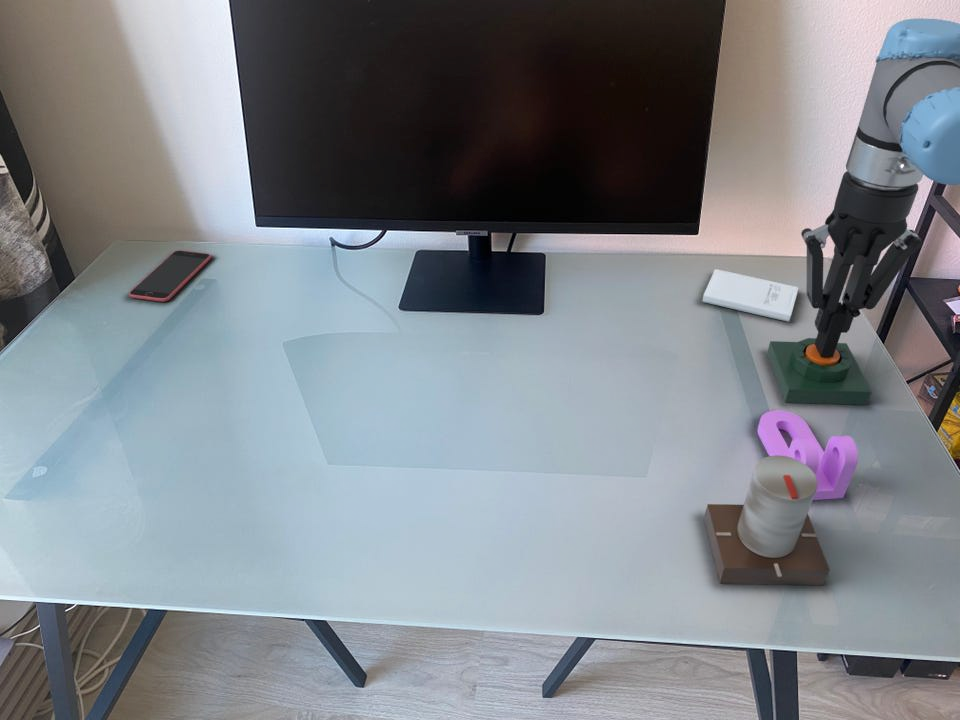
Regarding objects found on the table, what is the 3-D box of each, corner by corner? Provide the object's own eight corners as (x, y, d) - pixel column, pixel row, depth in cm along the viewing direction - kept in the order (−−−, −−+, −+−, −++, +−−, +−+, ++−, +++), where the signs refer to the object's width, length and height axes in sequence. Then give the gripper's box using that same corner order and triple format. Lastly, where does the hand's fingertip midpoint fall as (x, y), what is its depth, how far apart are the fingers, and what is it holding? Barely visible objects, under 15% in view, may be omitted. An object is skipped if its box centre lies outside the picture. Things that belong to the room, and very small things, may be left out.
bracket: (842, 498, 82) (861, 453, 78) (793, 501, 82) (809, 456, 78) (795, 417, 92) (809, 373, 88) (750, 420, 92) (762, 376, 88)
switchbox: (866, 405, 94) (876, 380, 92) (784, 402, 95) (792, 378, 92) (842, 355, 102) (850, 331, 99) (766, 353, 102) (773, 330, 100)
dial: (731, 512, 78) (748, 452, 72) (786, 513, 78) (807, 453, 72) (744, 557, 73) (764, 497, 68) (803, 558, 73) (827, 497, 68)
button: (840, 373, 95) (844, 362, 94) (807, 372, 95) (811, 362, 94) (831, 354, 98) (834, 343, 97) (799, 353, 98) (802, 342, 97)
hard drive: (713, 276, 118) (797, 294, 114) (701, 303, 112) (788, 323, 108) (715, 267, 117) (799, 285, 113) (703, 294, 111) (791, 313, 107)
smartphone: (125, 294, 116) (175, 249, 126) (126, 297, 116) (176, 252, 127) (166, 299, 114) (213, 253, 125) (167, 303, 115) (213, 256, 125)
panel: (796, 514, 81) (802, 497, 79) (826, 593, 73) (833, 576, 71) (701, 513, 81) (705, 496, 79) (721, 591, 73) (726, 575, 72)
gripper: (829, 191, 78) (778, 367, 93) (960, 193, 77) (887, 370, 92) (809, 161, 84) (764, 331, 99) (930, 162, 83) (866, 334, 98)
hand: (823, 350), depth 95 cm, fingers closed
